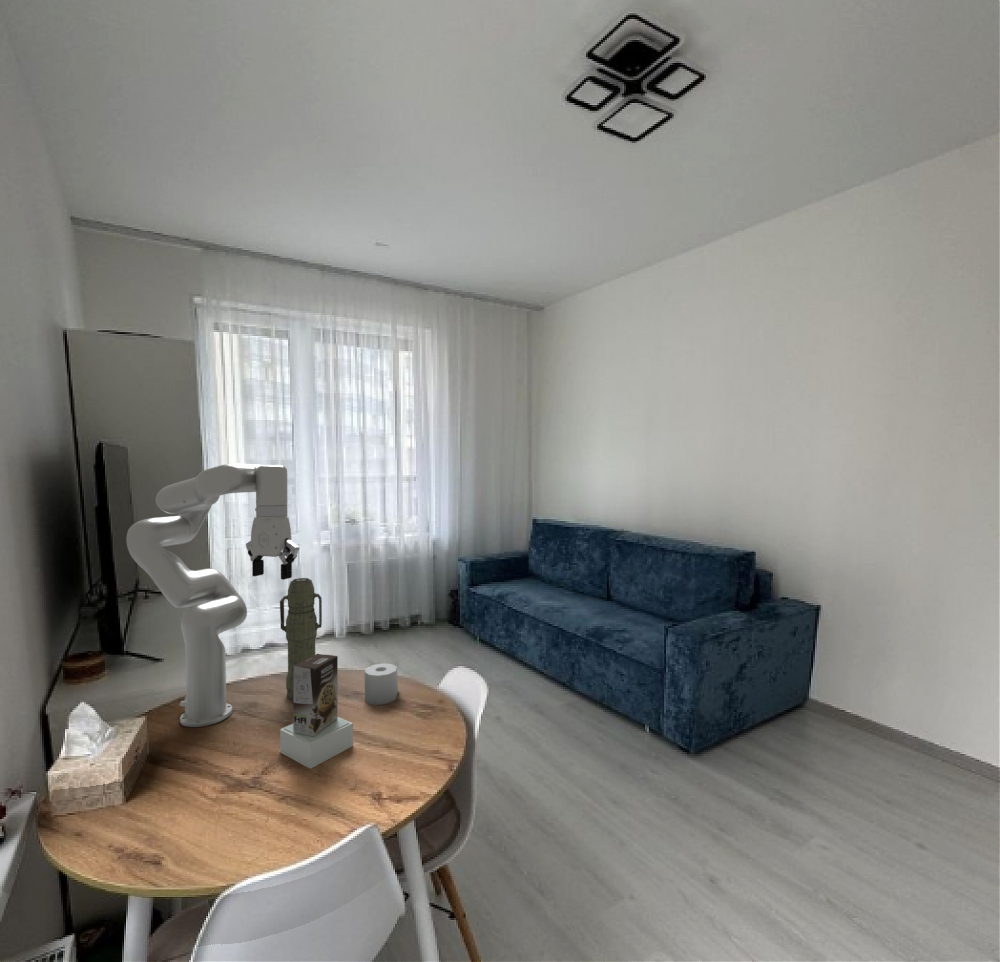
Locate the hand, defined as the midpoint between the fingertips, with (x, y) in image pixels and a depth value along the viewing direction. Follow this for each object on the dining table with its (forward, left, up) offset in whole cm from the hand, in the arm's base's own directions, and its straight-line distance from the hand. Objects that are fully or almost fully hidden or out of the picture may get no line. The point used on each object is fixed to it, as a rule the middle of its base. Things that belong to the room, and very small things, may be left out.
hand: (272, 577), depth 134 cm
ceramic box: (+18, -4, -41) cm, 44 cm away
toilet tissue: (+16, +27, -40) cm, 51 cm away
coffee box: (+18, -4, -34) cm, 39 cm away
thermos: (-8, +19, -40) cm, 45 cm away
